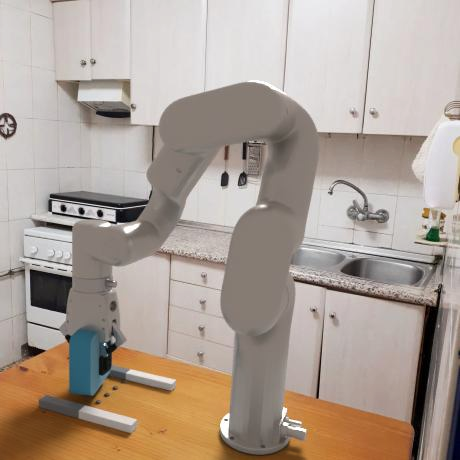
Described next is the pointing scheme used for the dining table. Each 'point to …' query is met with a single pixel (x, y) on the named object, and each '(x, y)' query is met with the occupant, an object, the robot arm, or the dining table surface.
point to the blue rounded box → (84, 363)
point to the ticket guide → (101, 415)
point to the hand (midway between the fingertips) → (91, 368)
